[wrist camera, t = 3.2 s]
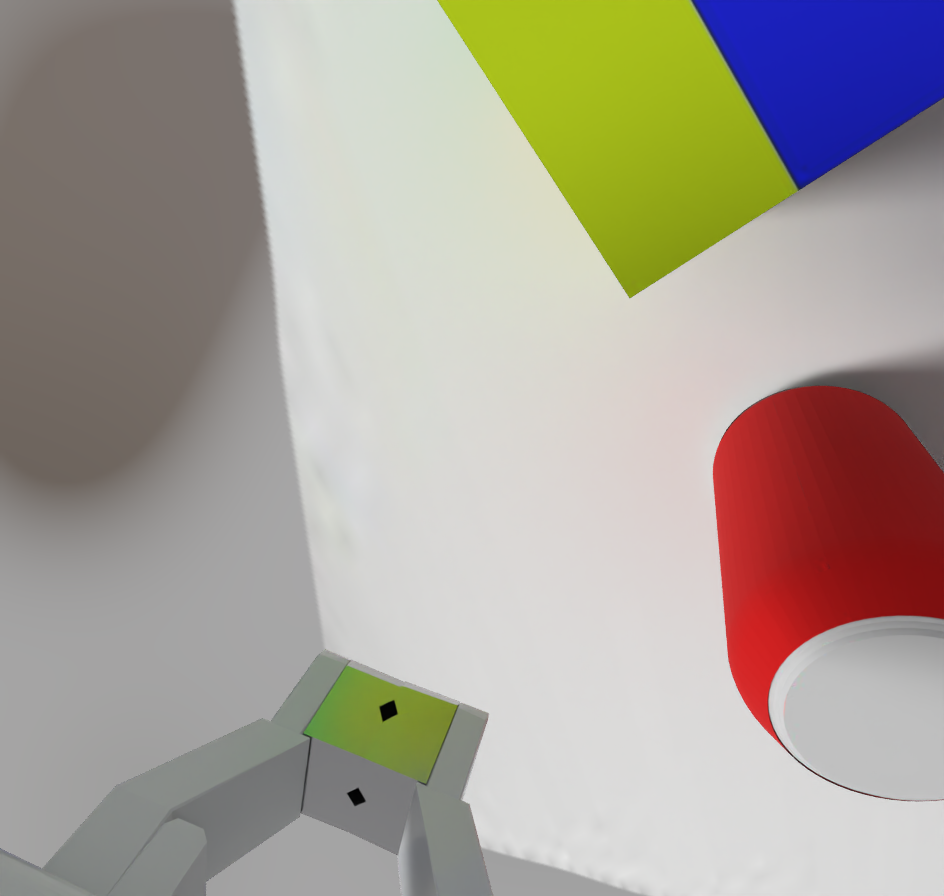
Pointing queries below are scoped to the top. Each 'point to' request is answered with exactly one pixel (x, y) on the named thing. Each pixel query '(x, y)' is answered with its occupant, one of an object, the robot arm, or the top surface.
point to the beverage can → (836, 587)
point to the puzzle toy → (698, 104)
